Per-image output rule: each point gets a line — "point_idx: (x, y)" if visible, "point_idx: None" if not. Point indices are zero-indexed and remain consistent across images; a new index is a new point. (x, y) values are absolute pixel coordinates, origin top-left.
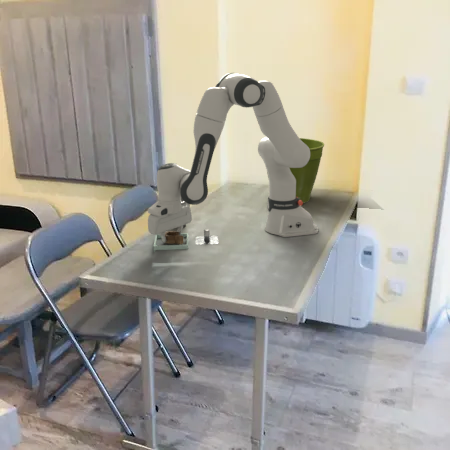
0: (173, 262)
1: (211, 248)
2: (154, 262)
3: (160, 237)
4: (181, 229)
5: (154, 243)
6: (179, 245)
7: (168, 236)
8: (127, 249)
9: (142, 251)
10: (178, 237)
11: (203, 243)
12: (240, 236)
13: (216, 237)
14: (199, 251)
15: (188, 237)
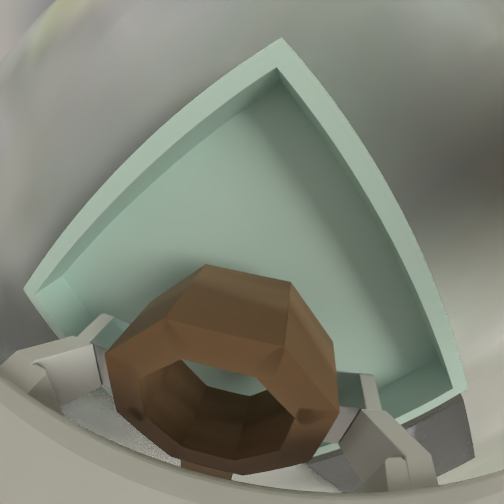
0: (77, 414)
1: (321, 489)
2: (17, 341)
3: (306, 113)
4: (362, 476)
5: (47, 260)
6: None
7: (122, 414)
8: (12, 66)
9: (25, 179)
10: None
11: (342, 478)
12: (484, 473)
13: (449, 468)
14: (254, 474)
15: (428, 384)
